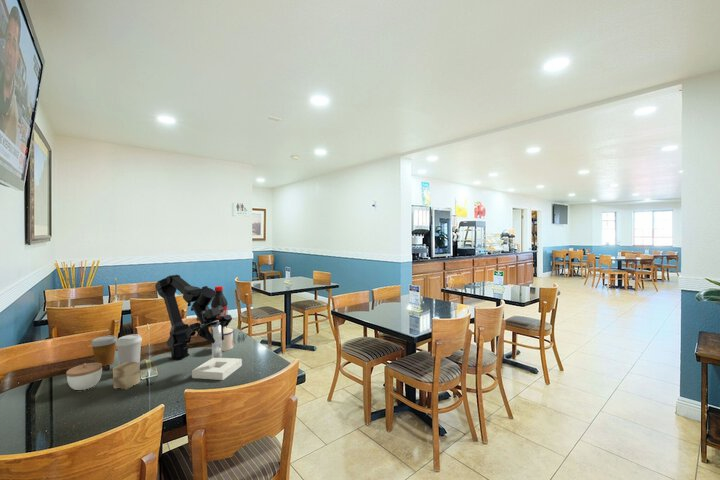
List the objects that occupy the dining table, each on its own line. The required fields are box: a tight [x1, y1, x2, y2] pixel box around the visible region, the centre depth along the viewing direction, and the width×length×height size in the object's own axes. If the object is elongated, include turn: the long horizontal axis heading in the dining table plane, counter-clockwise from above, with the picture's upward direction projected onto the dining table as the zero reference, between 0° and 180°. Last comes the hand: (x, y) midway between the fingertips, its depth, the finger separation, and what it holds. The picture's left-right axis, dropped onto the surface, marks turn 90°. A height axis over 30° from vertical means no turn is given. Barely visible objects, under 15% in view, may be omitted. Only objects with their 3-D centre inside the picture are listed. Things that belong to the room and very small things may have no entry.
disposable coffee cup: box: [90, 335, 118, 367], centre depth 148 cm, size 10×10×12 cm
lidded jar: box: [65, 362, 103, 391], centre depth 125 cm, size 11×11×9 cm
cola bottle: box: [210, 285, 229, 328], centre depth 177 cm, size 8×8×30 cm
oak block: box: [112, 362, 141, 390], centre depth 126 cm, size 6×6×8 cm
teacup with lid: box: [222, 326, 234, 352], centre depth 165 cm, size 12×9×12 cm
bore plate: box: [191, 357, 243, 381], centre depth 137 cm, size 14×14×3 cm
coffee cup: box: [115, 333, 143, 370], centre depth 139 cm, size 10×10×15 cm
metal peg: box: [210, 324, 223, 358], centre depth 136 cm, size 4×4×13 cm
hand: (218, 341), depth 136 cm, fingers closed on metal peg, 4 cm apart
